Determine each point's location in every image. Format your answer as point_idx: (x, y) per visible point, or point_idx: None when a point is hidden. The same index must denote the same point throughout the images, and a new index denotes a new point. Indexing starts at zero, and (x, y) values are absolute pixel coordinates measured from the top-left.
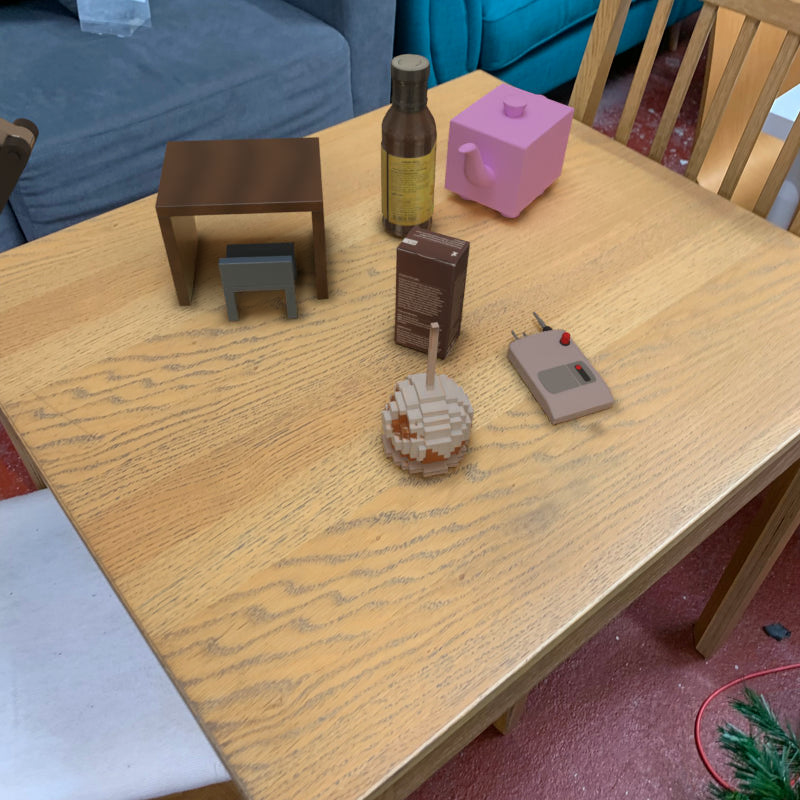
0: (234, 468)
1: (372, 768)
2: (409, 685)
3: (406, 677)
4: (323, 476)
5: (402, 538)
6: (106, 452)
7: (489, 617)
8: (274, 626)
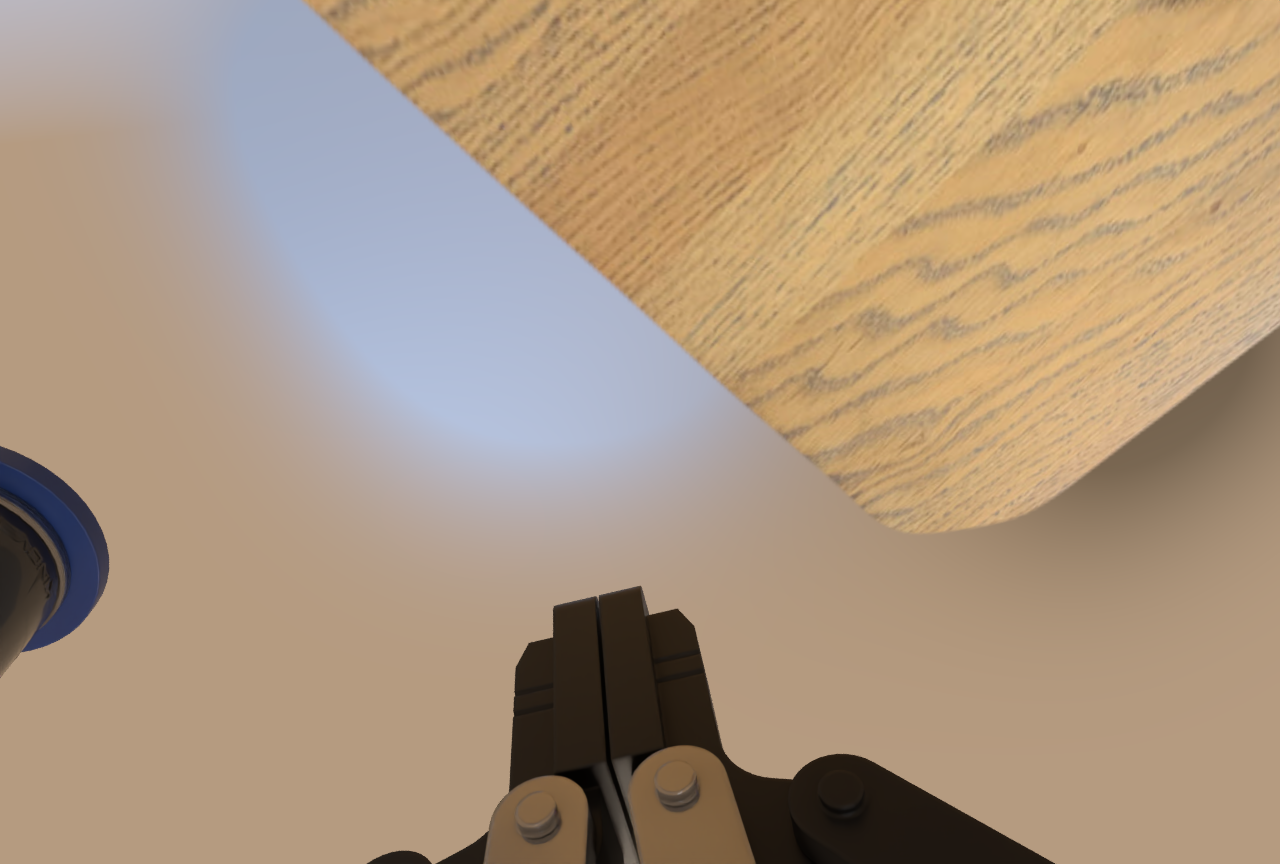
0: (790, 12)
1: (1040, 493)
2: (1100, 391)
3: (1097, 381)
4: (981, 8)
5: (1126, 142)
6: (494, 6)
7: (1241, 273)
8: (904, 337)
